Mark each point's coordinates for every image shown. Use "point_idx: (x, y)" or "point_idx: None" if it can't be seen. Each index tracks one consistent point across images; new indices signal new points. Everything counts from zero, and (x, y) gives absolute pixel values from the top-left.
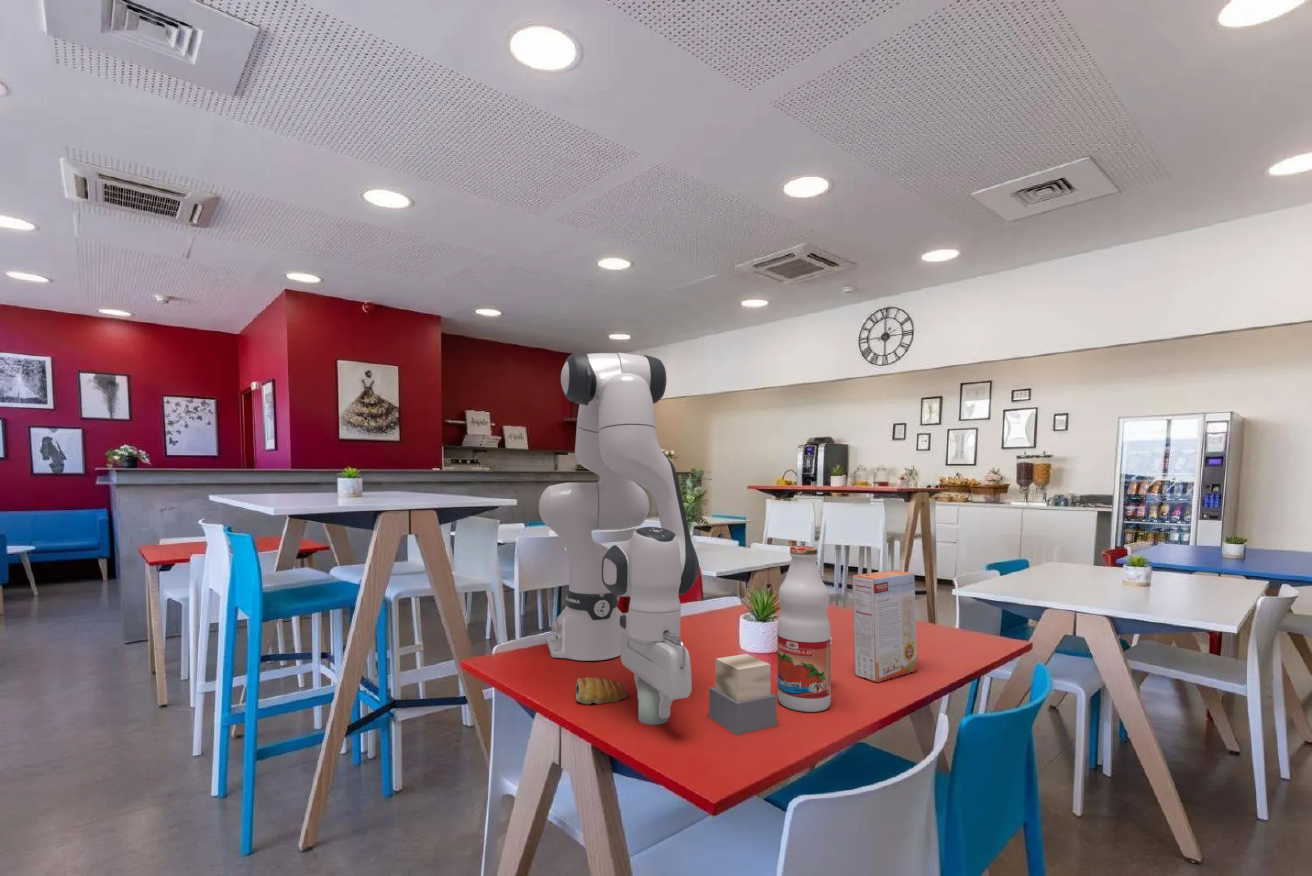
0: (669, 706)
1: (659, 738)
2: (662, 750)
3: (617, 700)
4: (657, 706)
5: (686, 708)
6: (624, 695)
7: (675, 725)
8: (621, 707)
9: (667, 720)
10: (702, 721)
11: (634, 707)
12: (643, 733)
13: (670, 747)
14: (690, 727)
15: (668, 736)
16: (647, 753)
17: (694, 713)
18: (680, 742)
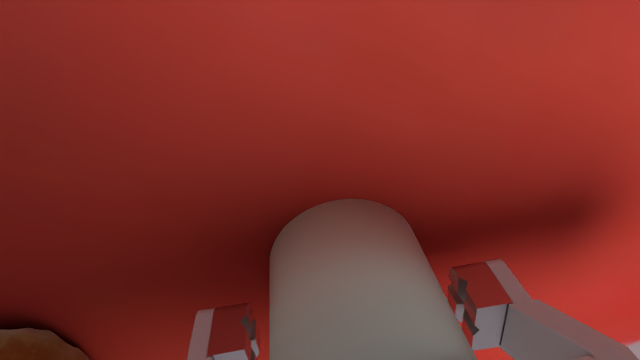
0: (530, 302)
1: (537, 275)
2: (624, 285)
3: (83, 356)
4: (482, 344)
5: (244, 42)
6: (40, 343)
7: (460, 188)
8: (169, 346)
9: (390, 208)
10: (492, 21)
11: (177, 304)
12: None
13: (627, 258)
14: (523, 125)
15: (543, 243)
16: (607, 325)
17: (349, 20)
18: (621, 216)
